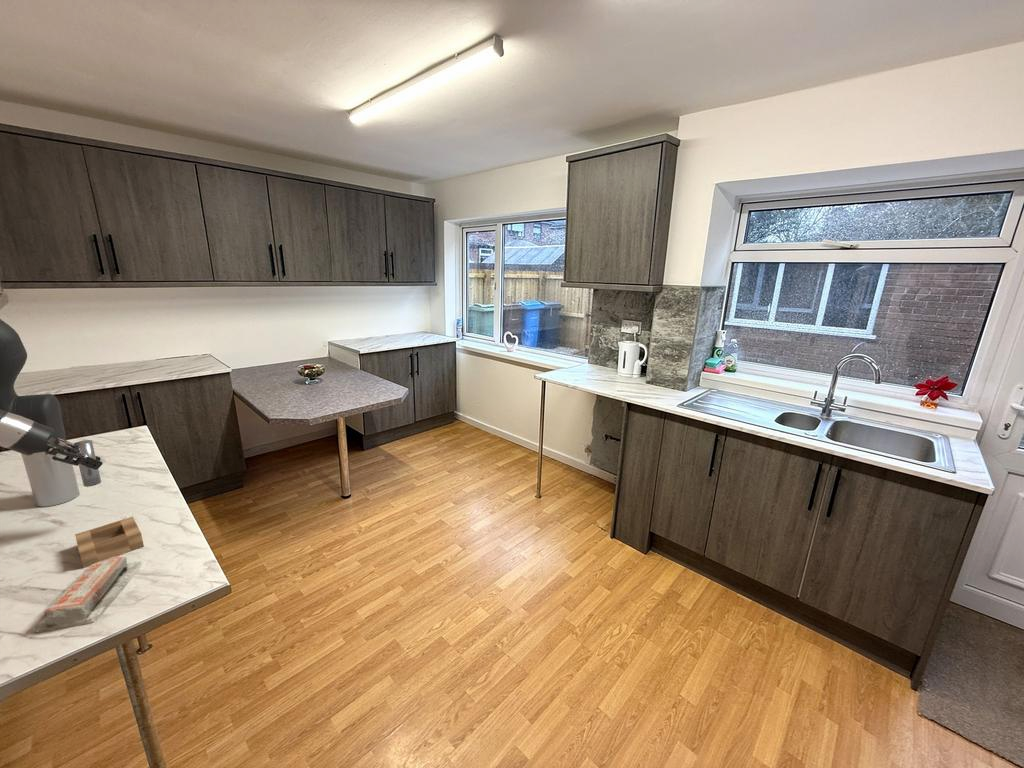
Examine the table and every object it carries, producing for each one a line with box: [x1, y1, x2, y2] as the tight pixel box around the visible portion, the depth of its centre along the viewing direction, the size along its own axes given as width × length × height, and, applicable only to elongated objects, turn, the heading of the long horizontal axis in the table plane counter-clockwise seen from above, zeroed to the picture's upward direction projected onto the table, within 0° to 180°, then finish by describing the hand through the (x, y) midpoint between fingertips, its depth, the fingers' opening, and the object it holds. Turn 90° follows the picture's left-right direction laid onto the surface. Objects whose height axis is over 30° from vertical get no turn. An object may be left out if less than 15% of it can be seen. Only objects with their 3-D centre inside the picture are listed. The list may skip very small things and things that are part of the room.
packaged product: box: [32, 555, 143, 633], centre depth 89 cm, size 18×5×10 cm
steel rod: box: [73, 439, 102, 488], centre depth 109 cm, size 3×3×12 cm
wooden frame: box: [74, 516, 145, 569], centre depth 105 cm, size 11×11×4 cm
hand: (98, 463), depth 111 cm, fingers closed on steel rod, 3 cm apart
